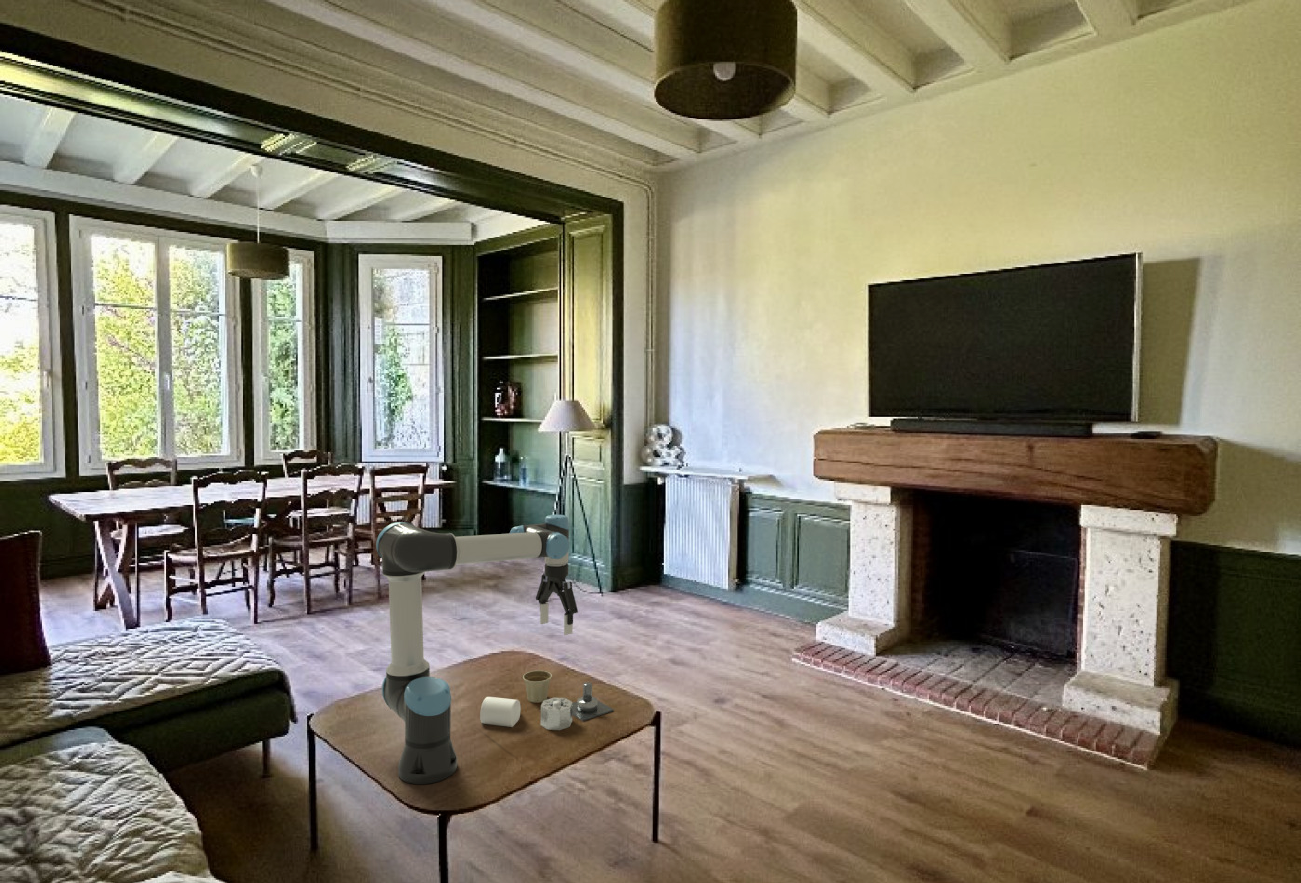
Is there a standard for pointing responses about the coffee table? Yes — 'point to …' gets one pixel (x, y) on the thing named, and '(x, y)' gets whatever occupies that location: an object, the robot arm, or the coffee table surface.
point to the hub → (589, 705)
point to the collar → (556, 714)
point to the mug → (500, 711)
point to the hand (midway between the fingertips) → (556, 628)
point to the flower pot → (537, 685)
